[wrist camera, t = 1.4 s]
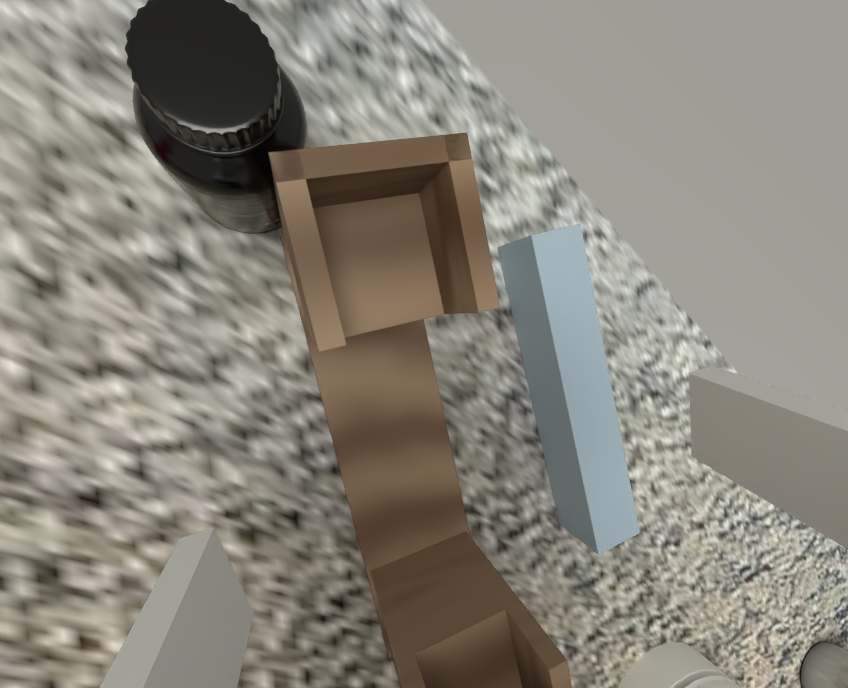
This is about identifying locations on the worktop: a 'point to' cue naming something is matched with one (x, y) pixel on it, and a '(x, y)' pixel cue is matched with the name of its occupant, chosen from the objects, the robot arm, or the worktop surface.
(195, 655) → the robot arm
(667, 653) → the honey pot
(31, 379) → the worktop surface
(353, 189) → the bracket
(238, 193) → the supplement bottle
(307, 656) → the worktop surface
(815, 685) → the cupcake
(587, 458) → the rail
